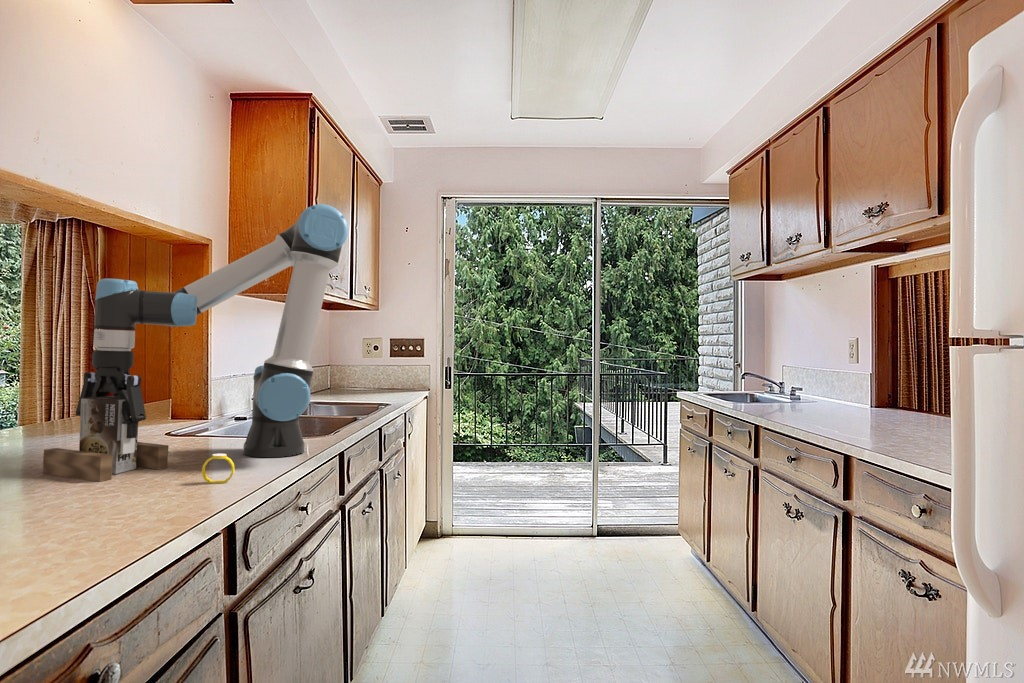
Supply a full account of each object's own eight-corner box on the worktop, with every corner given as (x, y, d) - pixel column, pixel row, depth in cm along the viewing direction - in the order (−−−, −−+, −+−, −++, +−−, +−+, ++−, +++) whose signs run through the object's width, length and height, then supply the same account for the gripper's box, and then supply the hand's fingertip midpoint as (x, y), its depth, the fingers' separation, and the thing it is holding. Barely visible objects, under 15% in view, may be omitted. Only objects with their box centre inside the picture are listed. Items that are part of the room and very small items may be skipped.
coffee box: (137, 468, 131) (141, 396, 131) (115, 474, 124) (119, 399, 124) (100, 466, 132) (103, 394, 132) (76, 472, 125) (80, 396, 125)
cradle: (167, 467, 133) (168, 445, 133) (99, 481, 118) (100, 457, 118) (114, 460, 138) (115, 439, 138) (42, 473, 123) (43, 449, 123)
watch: (233, 482, 124) (237, 454, 124) (231, 485, 121) (234, 456, 121) (202, 480, 122) (206, 452, 122) (199, 483, 119) (203, 454, 120)
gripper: (58, 347, 128) (53, 448, 128) (137, 351, 121) (132, 458, 121) (92, 347, 135) (87, 443, 135) (168, 352, 129) (163, 453, 128)
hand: (108, 450), depth 128 cm, fingers open, 10 cm apart
